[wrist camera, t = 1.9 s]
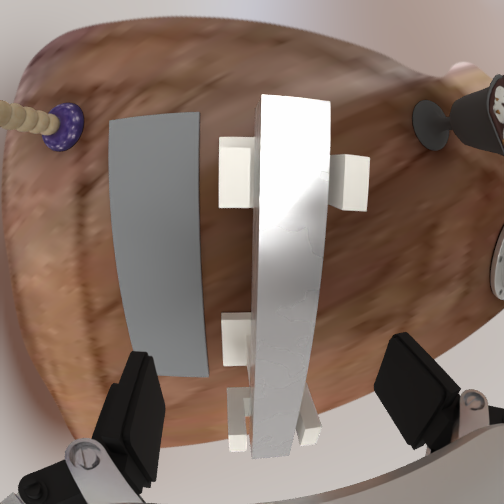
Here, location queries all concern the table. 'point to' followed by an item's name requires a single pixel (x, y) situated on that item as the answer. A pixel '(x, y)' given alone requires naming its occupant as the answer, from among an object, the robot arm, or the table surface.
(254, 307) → the rail
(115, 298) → the table surface
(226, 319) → the rack
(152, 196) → the mat
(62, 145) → the toy lamp
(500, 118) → the sundae
